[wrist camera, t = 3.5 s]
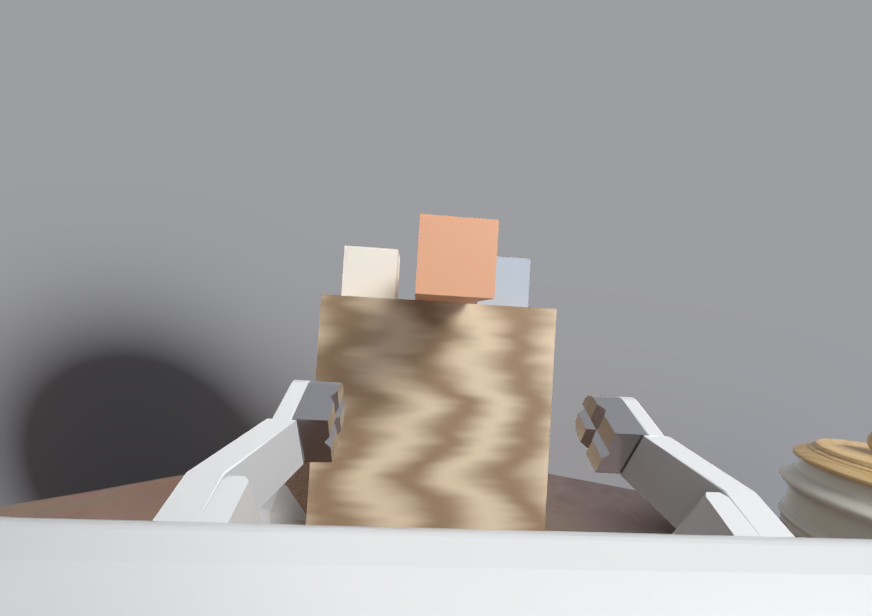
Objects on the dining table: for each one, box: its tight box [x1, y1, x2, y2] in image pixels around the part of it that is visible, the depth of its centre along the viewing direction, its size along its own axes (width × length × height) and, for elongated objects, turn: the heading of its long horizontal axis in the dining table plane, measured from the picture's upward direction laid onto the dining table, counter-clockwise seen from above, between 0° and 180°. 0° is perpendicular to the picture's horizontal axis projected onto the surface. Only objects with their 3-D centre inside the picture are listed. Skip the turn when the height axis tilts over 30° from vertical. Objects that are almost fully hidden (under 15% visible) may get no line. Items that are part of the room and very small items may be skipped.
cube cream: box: [341, 246, 400, 299], centre depth 33 cm, size 5×5×5 cm
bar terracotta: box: [415, 214, 499, 303], centre depth 27 cm, size 4×21×4 cm, turn 3°
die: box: [258, 483, 306, 525], centre depth 29 cm, size 8×9×10 cm
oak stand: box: [306, 294, 556, 531], centre depth 31 cm, size 18×12×26 cm
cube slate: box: [469, 257, 530, 307], centre depth 34 cm, size 5×5×5 cm
